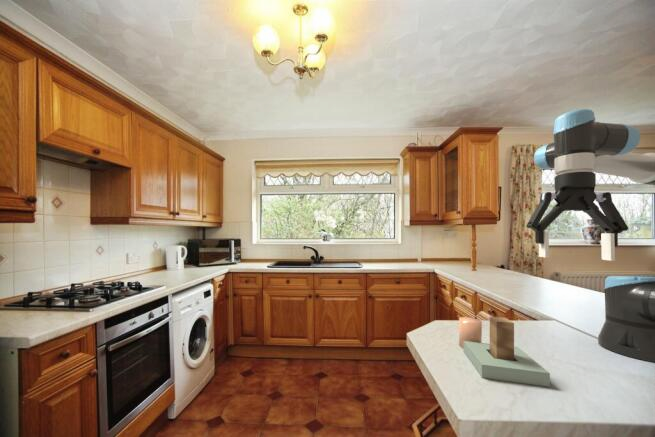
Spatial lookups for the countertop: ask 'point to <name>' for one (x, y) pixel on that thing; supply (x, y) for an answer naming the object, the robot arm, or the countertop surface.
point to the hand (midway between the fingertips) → (575, 258)
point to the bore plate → (506, 365)
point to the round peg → (469, 330)
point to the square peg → (501, 338)
